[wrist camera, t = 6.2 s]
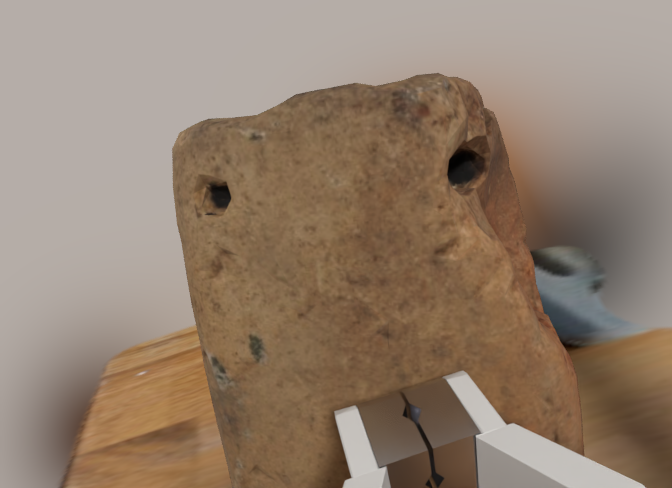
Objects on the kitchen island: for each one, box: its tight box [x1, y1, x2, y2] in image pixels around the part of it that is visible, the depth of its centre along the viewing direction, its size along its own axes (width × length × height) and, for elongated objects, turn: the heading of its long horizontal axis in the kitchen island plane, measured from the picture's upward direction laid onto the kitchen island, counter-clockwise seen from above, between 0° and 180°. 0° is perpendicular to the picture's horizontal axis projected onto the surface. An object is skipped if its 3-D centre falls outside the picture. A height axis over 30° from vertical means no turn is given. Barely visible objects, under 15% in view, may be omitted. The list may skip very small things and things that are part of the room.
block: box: [172, 73, 584, 488], centre depth 14 cm, size 11×8×20 cm
